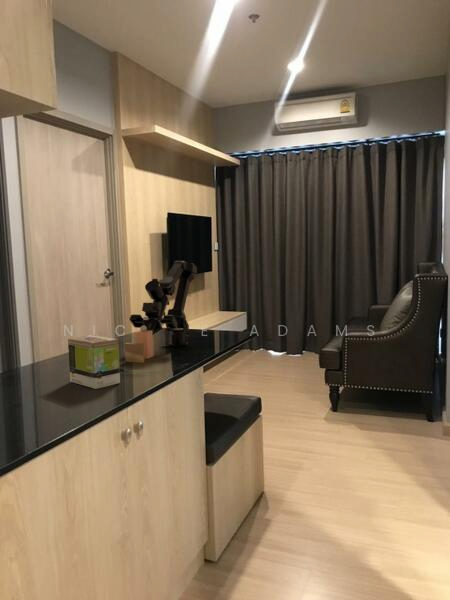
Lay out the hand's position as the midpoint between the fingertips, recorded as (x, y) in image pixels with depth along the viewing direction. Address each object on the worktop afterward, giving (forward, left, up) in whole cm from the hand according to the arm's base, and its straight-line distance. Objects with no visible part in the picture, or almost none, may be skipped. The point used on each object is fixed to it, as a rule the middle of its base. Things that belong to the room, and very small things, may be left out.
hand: (147, 339), depth 200 cm
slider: (+2, +2, -7) cm, 7 cm away
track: (+2, +1, -8) cm, 8 cm away
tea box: (+28, +21, -8) cm, 36 cm away
